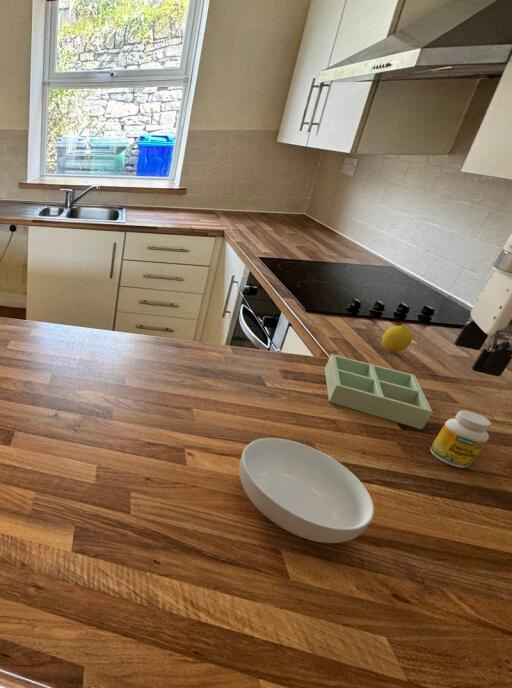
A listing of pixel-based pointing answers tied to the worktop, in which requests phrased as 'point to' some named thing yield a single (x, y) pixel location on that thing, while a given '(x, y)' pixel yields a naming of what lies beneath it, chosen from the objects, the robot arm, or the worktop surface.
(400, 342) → the lemon
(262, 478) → the cereal bowl
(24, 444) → the worktop surface
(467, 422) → the supplement bottle
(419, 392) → the compartment tray
